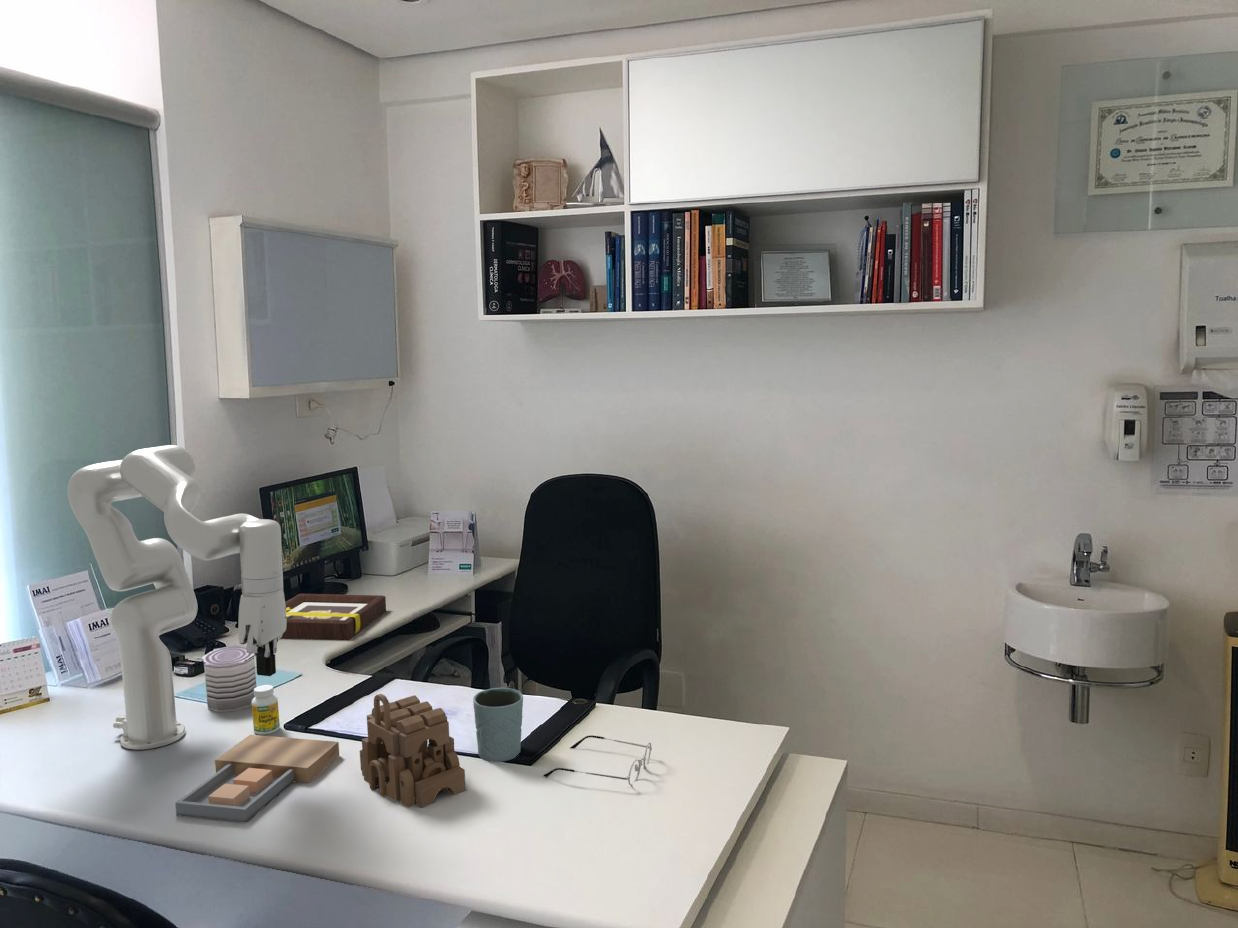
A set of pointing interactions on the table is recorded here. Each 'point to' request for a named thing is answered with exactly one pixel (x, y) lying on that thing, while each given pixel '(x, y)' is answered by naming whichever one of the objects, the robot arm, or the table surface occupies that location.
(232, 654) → the can
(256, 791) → the tile rear
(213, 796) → the tile front
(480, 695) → the green cup
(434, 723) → the wooden puzzle
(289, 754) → the board
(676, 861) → the table surface
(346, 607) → the picture frame
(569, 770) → the eyeglasses
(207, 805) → the tray
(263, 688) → the supplement bottle
